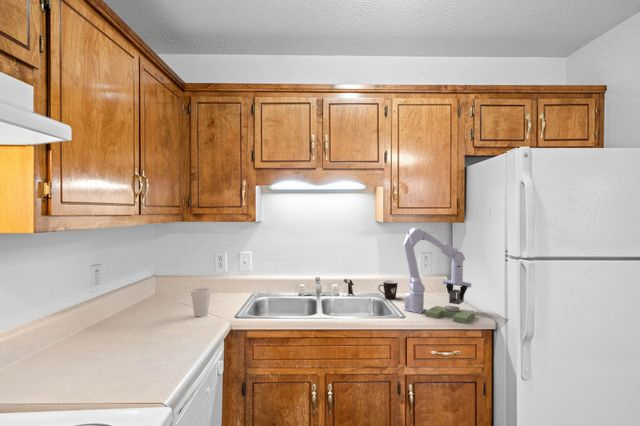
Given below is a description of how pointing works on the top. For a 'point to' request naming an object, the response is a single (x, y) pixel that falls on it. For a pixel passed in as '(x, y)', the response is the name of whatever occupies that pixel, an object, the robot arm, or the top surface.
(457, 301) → the chute
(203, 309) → the foam cup
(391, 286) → the coffee mug
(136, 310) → the top surface
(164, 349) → the top surface
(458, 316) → the notched green slab
